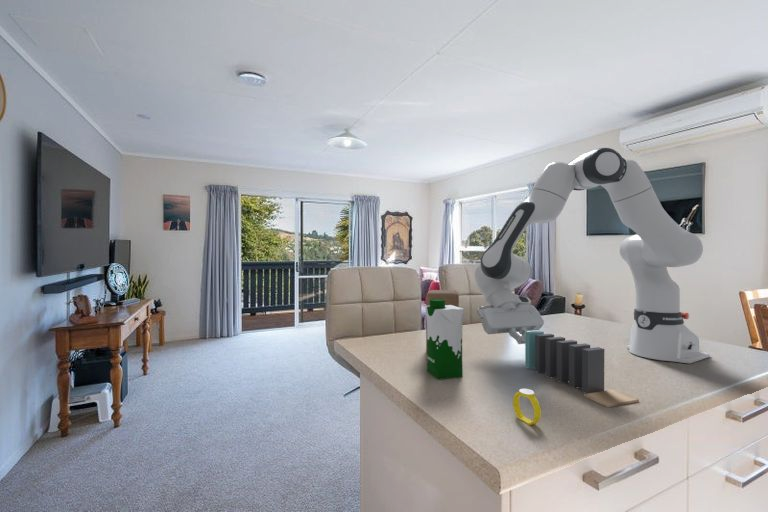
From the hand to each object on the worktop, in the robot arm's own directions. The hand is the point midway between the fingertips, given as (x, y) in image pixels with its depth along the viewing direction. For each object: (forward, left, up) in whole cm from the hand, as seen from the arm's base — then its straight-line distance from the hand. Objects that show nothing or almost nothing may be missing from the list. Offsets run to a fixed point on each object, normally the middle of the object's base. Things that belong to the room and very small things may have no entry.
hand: (524, 342), depth 106 cm
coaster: (0, +28, -6) cm, 28 cm away
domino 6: (0, +23, -6) cm, 24 cm away
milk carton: (+27, +1, -6) cm, 28 cm away
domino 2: (0, +8, -6) cm, 10 cm away
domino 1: (0, +4, -6) cm, 7 cm away
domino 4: (0, +16, -6) cm, 17 cm away
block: (+18, -17, -6) cm, 25 cm away
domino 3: (0, +12, -6) cm, 13 cm away
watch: (+25, +30, -6) cm, 40 cm away
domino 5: (0, +20, -6) cm, 20 cm away
